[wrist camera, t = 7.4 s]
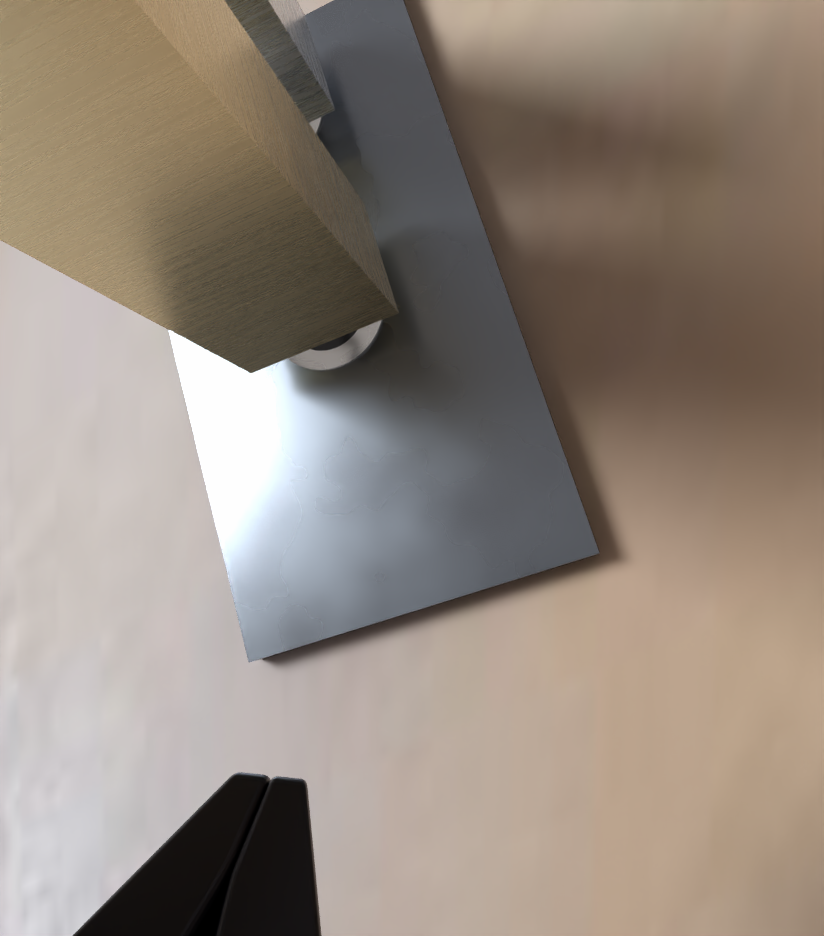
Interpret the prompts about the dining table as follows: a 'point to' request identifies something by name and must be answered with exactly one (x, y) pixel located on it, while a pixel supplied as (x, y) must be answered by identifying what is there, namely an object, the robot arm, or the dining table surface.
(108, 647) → the dining table surface
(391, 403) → the bolt plate
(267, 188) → the sliding leg
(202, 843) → the robot arm
